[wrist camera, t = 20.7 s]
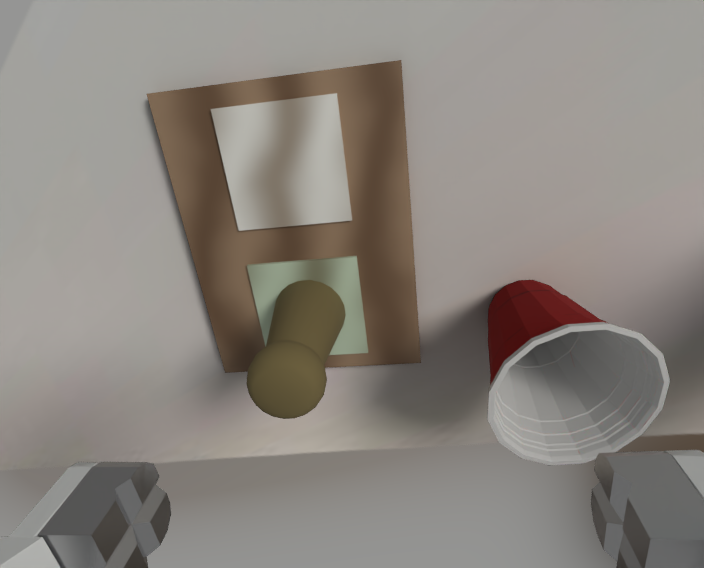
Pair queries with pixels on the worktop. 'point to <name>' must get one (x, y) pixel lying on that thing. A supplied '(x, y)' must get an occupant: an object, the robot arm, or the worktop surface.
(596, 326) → the plastic cup
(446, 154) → the worktop surface
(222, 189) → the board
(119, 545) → the robot arm
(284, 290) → the cork
